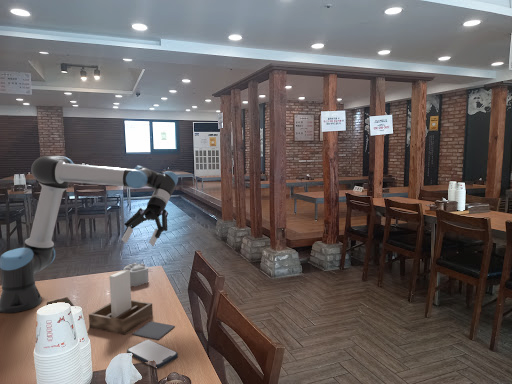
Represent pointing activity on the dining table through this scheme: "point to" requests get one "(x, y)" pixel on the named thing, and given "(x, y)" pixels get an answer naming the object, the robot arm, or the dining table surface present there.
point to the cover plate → (120, 292)
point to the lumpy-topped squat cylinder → (137, 274)
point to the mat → (153, 330)
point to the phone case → (153, 353)
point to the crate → (120, 317)
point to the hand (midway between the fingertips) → (137, 242)
